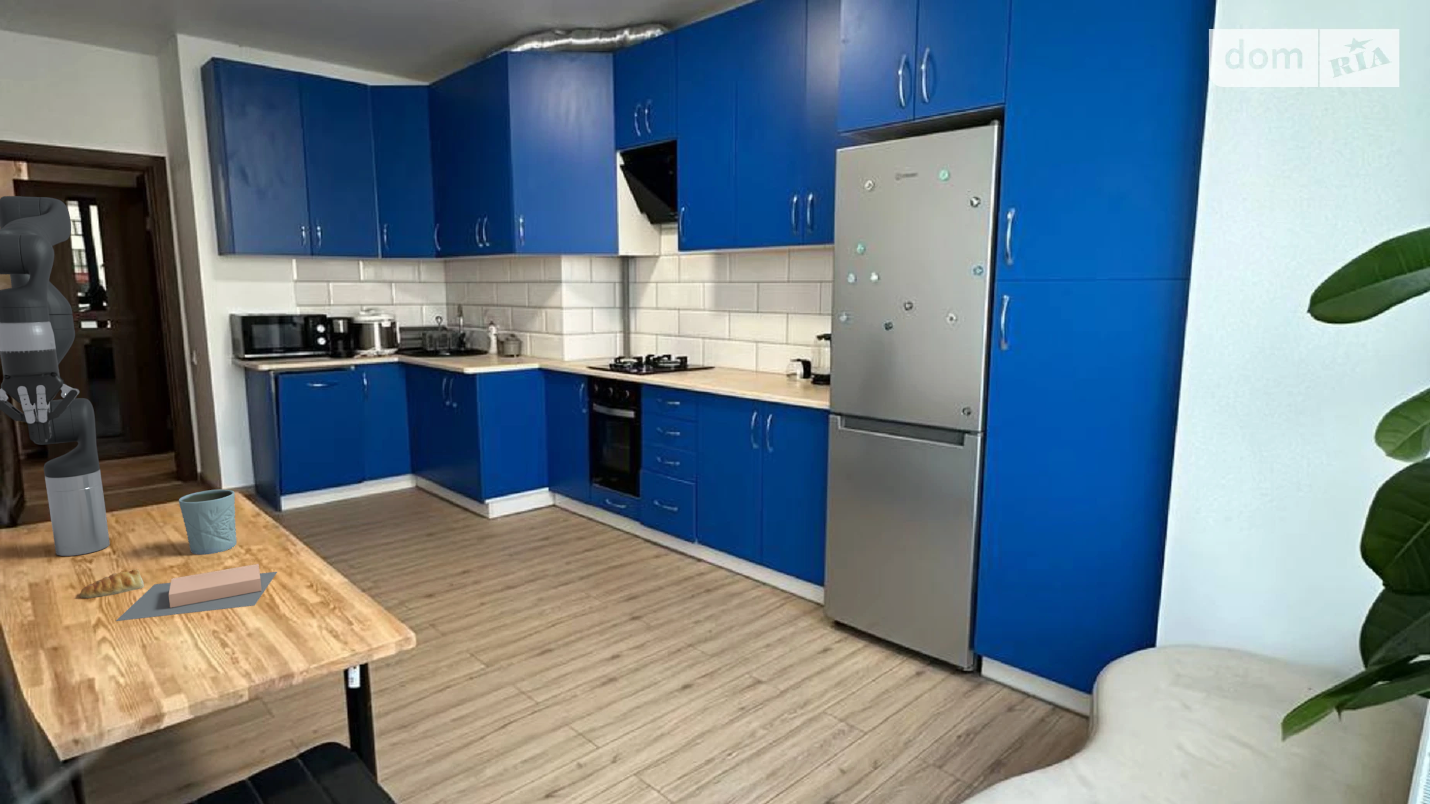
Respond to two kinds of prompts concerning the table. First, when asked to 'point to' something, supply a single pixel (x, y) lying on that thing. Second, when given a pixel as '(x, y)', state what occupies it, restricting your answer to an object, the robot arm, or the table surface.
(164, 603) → the mat
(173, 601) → the tile
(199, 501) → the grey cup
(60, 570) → the table surface
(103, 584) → the pastry
